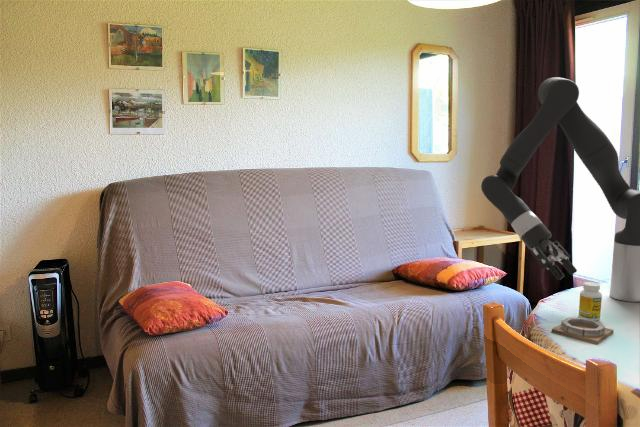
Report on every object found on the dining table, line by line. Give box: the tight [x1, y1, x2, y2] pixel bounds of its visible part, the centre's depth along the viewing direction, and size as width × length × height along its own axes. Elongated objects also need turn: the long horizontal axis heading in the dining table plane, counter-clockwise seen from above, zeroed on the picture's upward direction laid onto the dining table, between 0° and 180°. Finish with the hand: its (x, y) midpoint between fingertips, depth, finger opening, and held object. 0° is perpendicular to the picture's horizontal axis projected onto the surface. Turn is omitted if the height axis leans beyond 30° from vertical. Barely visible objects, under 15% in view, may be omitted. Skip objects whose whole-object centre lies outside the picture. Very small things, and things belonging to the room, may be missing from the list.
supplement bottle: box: [578, 281, 603, 322], centre depth 149 cm, size 5×5×10 cm
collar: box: [551, 316, 614, 345], centre depth 138 cm, size 11×11×2 cm
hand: (568, 275), depth 152 cm, fingers open, 8 cm apart
